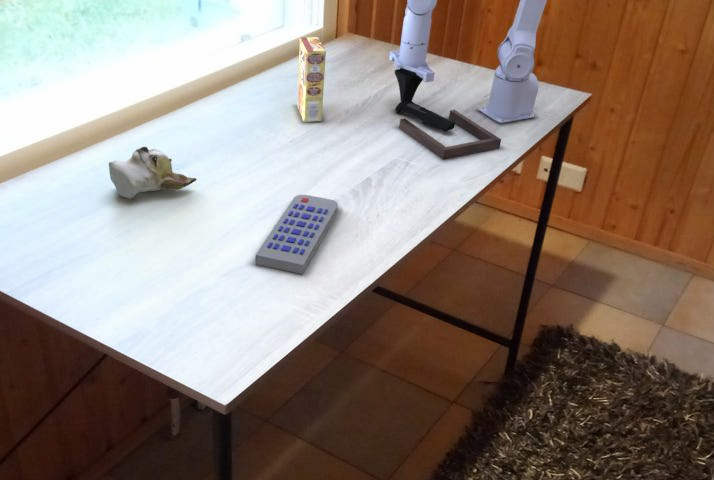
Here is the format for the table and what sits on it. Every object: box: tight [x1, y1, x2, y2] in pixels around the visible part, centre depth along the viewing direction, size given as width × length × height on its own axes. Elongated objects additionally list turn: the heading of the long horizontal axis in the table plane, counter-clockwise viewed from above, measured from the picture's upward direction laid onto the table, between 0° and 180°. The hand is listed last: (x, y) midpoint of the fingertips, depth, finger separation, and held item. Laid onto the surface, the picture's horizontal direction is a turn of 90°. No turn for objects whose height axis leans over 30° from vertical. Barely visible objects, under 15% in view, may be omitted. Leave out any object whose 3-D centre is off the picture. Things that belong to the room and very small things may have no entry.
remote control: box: [254, 194, 339, 275], centre depth 137 cm, size 8×23×2 cm, turn 160°
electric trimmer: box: [394, 99, 456, 132], centre depth 174 cm, size 4×16×3 cm, turn 36°
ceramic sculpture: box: [108, 146, 197, 200], centre depth 146 cm, size 11×9×15 cm
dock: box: [398, 109, 502, 160], centre depth 169 cm, size 14×16×2 cm
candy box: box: [297, 36, 327, 123], centre depth 173 cm, size 9×4×15 cm, turn 8°
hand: (406, 102), depth 180 cm, fingers closed
